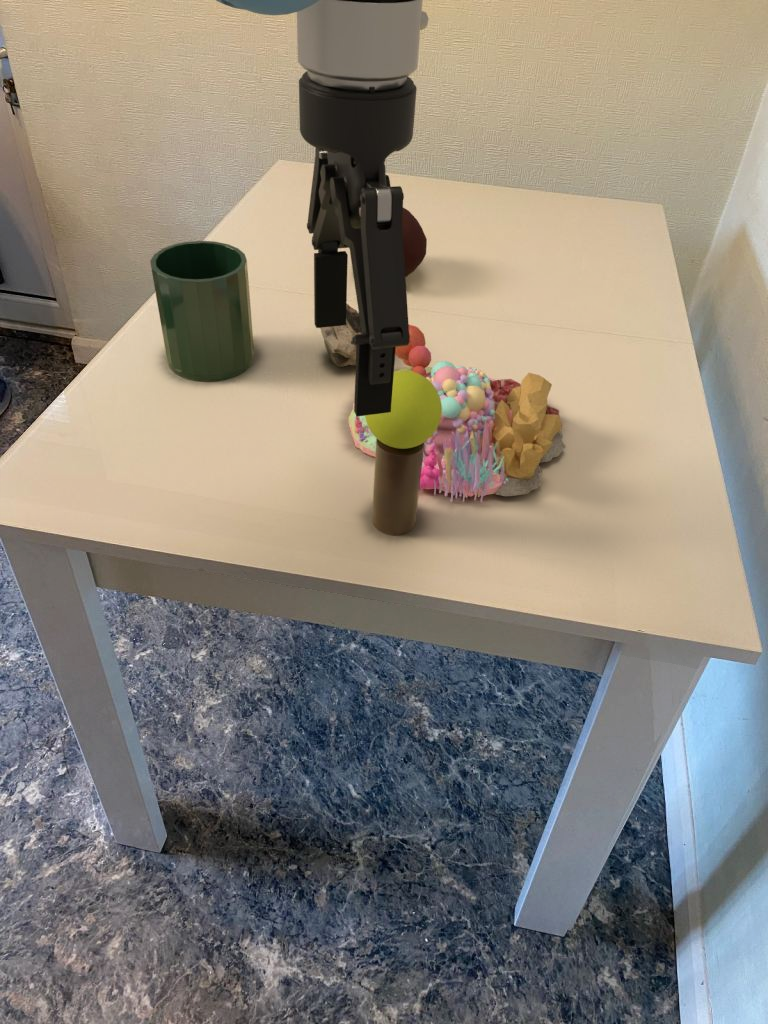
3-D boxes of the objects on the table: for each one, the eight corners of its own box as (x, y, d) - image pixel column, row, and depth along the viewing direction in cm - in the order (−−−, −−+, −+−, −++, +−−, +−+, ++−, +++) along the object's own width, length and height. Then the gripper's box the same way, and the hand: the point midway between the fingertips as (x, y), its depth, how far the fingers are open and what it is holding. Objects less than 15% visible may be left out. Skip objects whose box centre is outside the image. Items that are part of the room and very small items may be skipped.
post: (378, 538, 72) (384, 458, 65) (366, 508, 75) (370, 429, 68) (421, 531, 73) (431, 451, 66) (407, 502, 76) (415, 423, 69)
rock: (351, 317, 100) (307, 293, 92) (397, 308, 97) (355, 282, 88) (349, 380, 100) (305, 362, 91) (396, 374, 96) (353, 354, 87)
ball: (374, 469, 64) (378, 404, 59) (354, 423, 68) (356, 360, 64) (448, 458, 65) (457, 394, 61) (423, 414, 70) (430, 351, 65)
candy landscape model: (569, 398, 91) (587, 331, 85) (555, 524, 74) (576, 453, 68) (375, 363, 95) (378, 297, 89) (319, 476, 78) (318, 404, 72)
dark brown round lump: (352, 296, 108) (354, 226, 101) (350, 257, 118) (352, 191, 111) (427, 298, 109) (434, 228, 102) (419, 259, 118) (425, 193, 111)
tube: (171, 386, 89) (153, 285, 80) (164, 341, 96) (147, 244, 87) (260, 376, 91) (253, 277, 83) (246, 332, 99) (239, 237, 90)
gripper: (489, 133, 39) (443, 449, 53) (362, 31, 56) (354, 292, 70) (351, 137, 37) (343, 464, 51) (264, 31, 54) (276, 298, 69)
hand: (349, 365), depth 61 cm, fingers open, 13 cm apart
